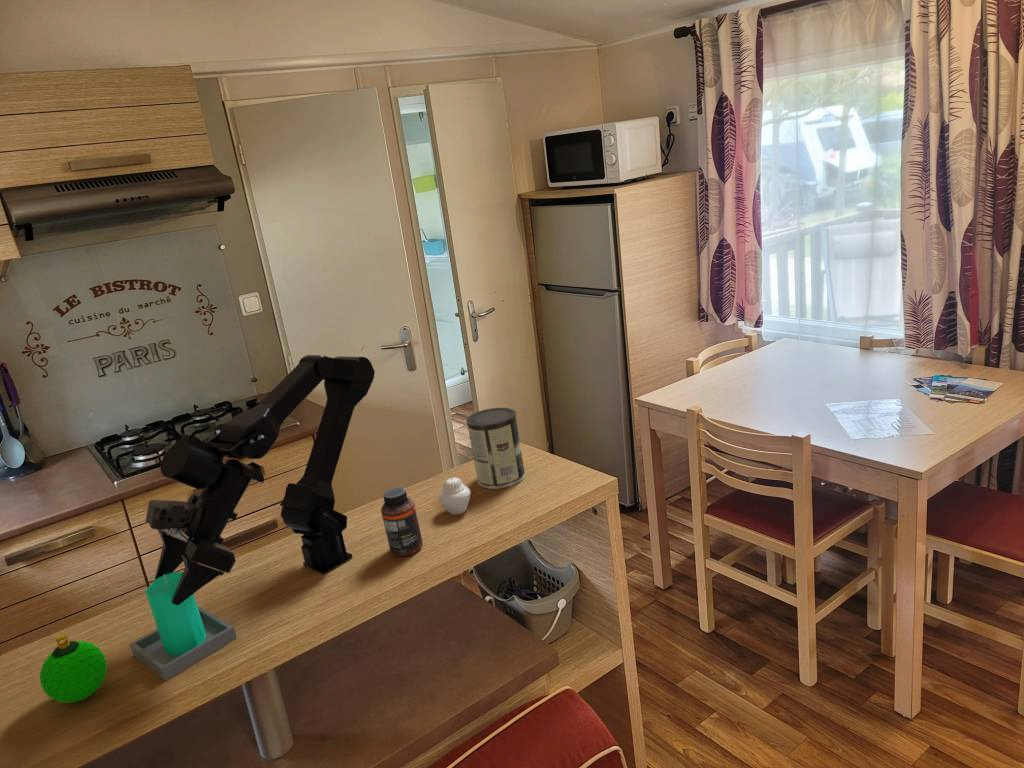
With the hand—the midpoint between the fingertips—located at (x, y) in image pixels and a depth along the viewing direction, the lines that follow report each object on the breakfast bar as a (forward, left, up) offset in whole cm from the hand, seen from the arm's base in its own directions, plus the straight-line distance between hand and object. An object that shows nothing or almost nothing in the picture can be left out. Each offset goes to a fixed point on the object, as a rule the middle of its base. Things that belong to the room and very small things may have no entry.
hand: (165, 593), depth 111 cm
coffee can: (-67, +6, -10) cm, 68 cm away
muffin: (-52, +8, -10) cm, 54 cm away
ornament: (+14, -2, -10) cm, 17 cm away
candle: (0, 0, -9) cm, 9 cm away
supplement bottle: (-37, +10, -10) cm, 40 cm away
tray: (0, 0, -10) cm, 10 cm away
